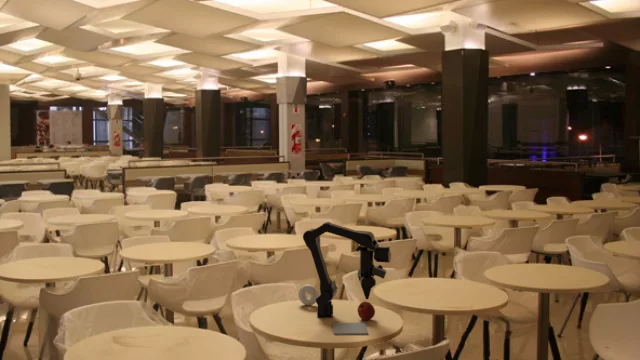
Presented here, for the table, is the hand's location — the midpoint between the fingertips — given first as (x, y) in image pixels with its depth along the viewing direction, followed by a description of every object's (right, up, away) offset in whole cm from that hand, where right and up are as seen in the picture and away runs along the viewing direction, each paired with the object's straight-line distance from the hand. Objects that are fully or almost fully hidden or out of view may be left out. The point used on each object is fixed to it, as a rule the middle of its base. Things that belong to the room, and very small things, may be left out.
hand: (366, 296), depth 297 cm
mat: (-8, -12, -12) cm, 18 cm away
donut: (-26, -8, +22) cm, 35 cm away
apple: (0, -11, +1) cm, 11 cm away
